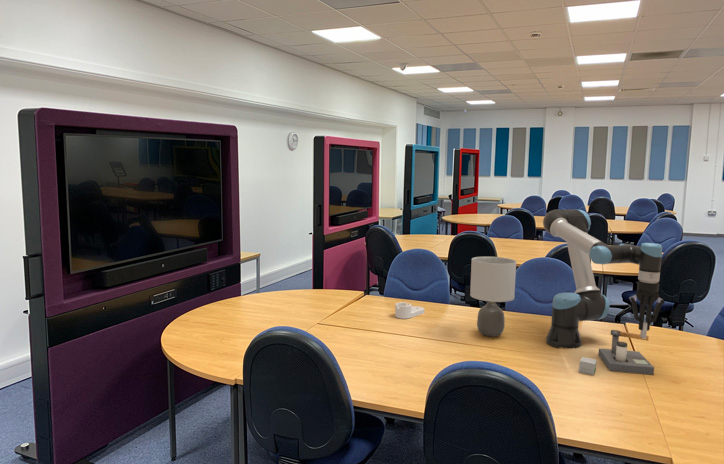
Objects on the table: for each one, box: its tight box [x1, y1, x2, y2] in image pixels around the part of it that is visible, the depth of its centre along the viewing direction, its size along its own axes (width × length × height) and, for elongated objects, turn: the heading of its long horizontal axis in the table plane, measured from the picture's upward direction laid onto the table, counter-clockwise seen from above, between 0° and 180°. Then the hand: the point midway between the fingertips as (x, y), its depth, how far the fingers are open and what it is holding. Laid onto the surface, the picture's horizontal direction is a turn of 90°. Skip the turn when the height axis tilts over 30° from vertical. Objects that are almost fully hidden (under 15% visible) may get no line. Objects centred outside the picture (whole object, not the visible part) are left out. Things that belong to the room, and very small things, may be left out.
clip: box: [610, 329, 650, 342], centre depth 208 cm, size 4×14×2 cm, turn 59°
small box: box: [578, 356, 598, 376], centre depth 197 cm, size 6×6×5 cm
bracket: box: [394, 301, 425, 320], centre depth 274 cm, size 20×9×7 cm, turn 136°
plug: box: [615, 341, 628, 362], centre depth 203 cm, size 4×4×10 cm
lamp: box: [469, 256, 517, 337], centre depth 240 cm, size 21×21×37 cm
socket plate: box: [597, 335, 655, 376], centre depth 205 cm, size 16×18×10 cm
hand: (643, 337), depth 204 cm, fingers closed, pressing on clip
